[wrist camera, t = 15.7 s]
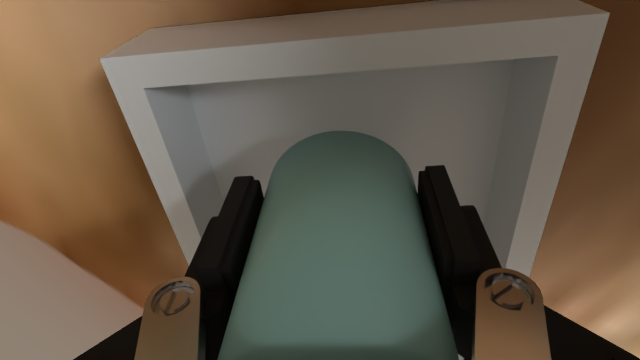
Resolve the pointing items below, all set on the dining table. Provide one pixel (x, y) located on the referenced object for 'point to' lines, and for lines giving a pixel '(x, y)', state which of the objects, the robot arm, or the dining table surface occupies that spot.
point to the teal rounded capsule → (340, 261)
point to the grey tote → (367, 101)
